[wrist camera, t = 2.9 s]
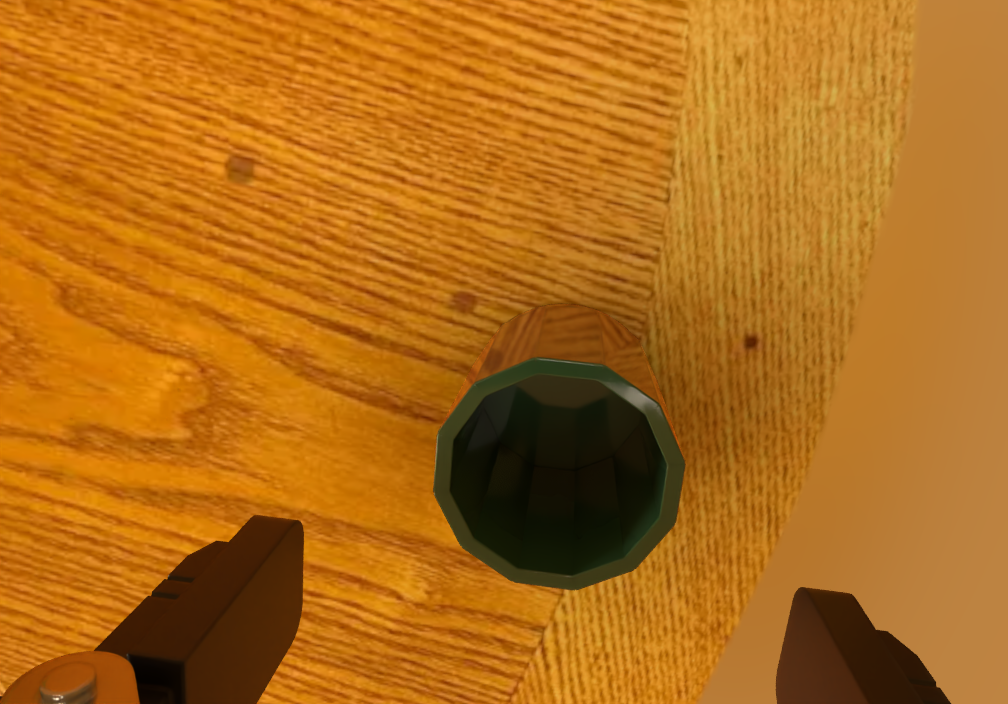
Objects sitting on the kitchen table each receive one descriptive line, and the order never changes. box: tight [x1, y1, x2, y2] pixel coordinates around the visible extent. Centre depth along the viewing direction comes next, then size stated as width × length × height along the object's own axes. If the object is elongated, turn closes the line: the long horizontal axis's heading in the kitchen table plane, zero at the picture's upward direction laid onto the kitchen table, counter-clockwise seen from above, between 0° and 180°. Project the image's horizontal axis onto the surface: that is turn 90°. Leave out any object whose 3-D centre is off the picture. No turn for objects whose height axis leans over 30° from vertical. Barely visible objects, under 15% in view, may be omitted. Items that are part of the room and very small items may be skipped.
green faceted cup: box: [433, 304, 686, 590], centre depth 19 cm, size 6×6×6 cm
